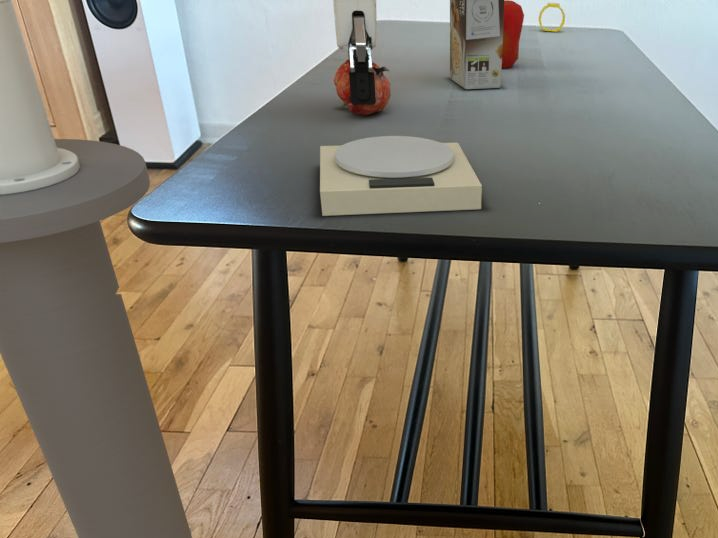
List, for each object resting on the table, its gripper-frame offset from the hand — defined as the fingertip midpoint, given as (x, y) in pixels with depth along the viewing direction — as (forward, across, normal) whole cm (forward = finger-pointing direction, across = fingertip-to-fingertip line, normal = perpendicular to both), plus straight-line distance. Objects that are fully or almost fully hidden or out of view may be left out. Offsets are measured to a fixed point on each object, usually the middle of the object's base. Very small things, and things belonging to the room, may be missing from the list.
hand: (362, 96), depth 94 cm
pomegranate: (+3, 0, 0) cm, 3 cm away
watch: (+3, -72, +47) cm, 86 cm away
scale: (+2, +30, +2) cm, 30 cm away
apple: (+3, -32, +26) cm, 41 cm away
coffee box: (+3, -18, +19) cm, 26 cm away
